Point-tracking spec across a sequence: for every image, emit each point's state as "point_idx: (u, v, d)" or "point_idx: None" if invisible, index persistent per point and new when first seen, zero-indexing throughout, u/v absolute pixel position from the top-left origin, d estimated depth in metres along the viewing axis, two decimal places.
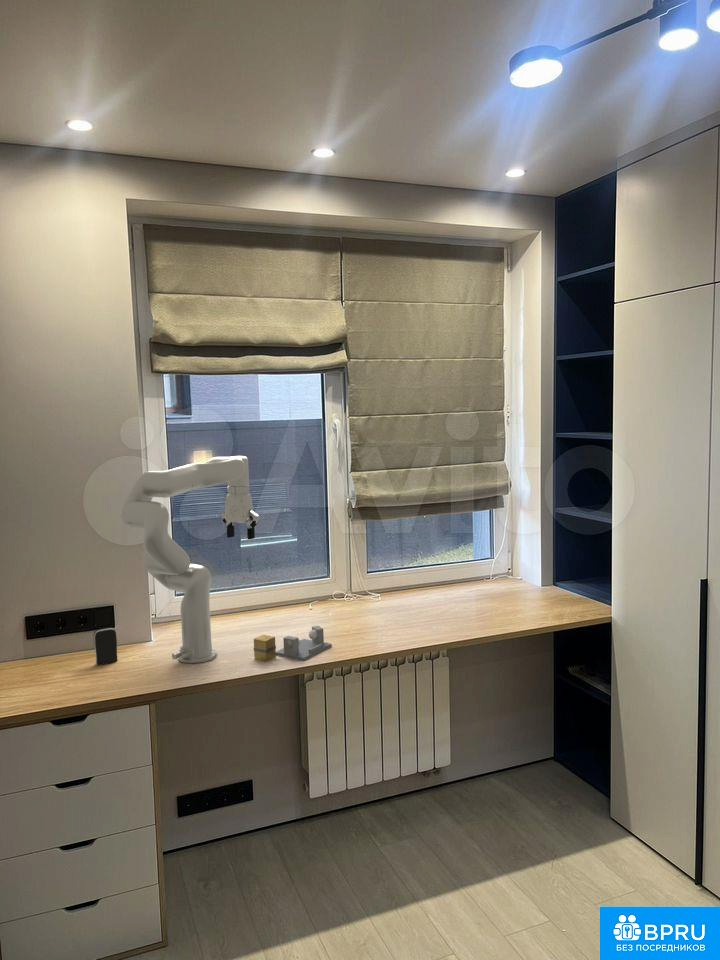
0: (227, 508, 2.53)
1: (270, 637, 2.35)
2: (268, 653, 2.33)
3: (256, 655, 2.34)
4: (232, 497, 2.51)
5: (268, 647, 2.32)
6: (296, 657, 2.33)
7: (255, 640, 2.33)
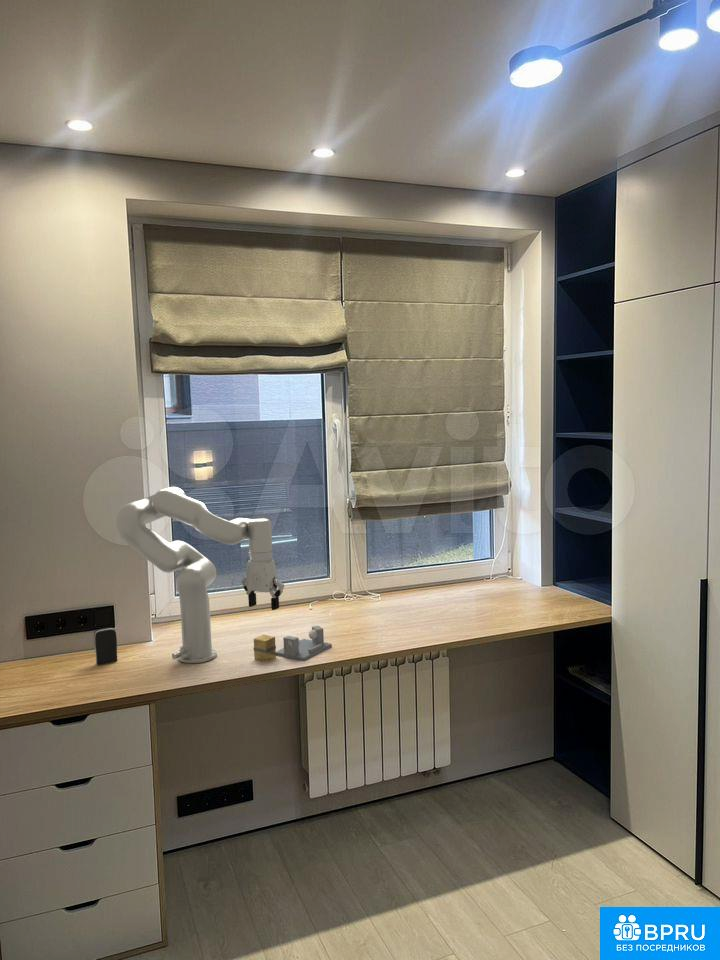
0: (249, 575, 2.32)
1: (270, 637, 2.35)
2: (268, 653, 2.33)
3: (256, 655, 2.34)
4: (254, 564, 2.30)
5: (268, 647, 2.32)
6: (296, 657, 2.33)
7: (255, 640, 2.33)
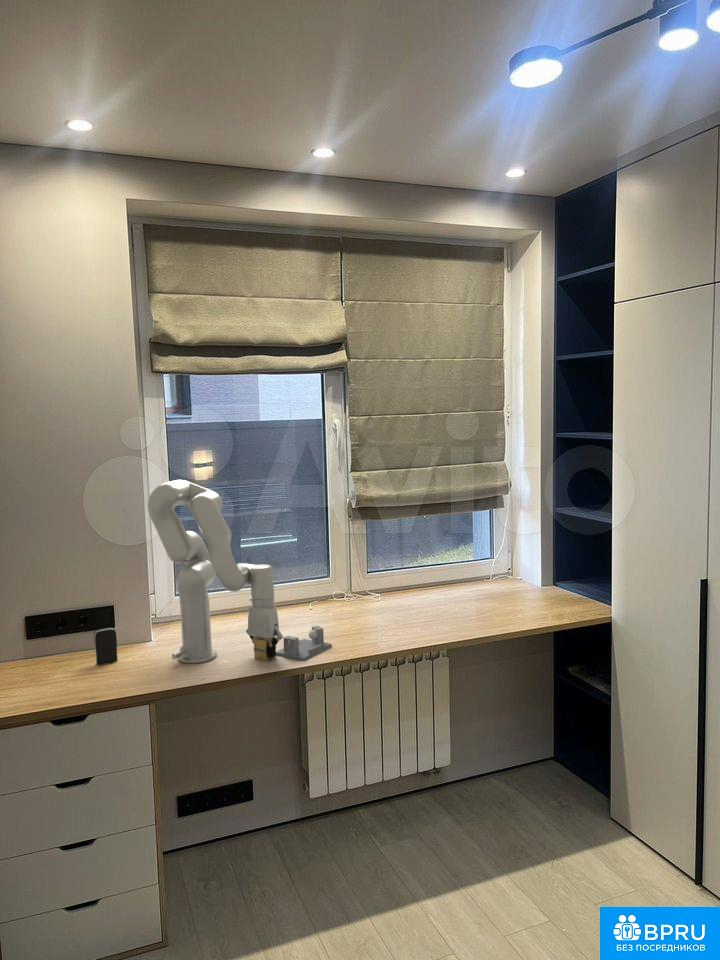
0: (250, 621, 2.33)
1: None
2: None
3: (256, 654, 2.34)
4: (256, 610, 2.32)
5: None
6: (296, 657, 2.33)
7: (255, 640, 2.33)
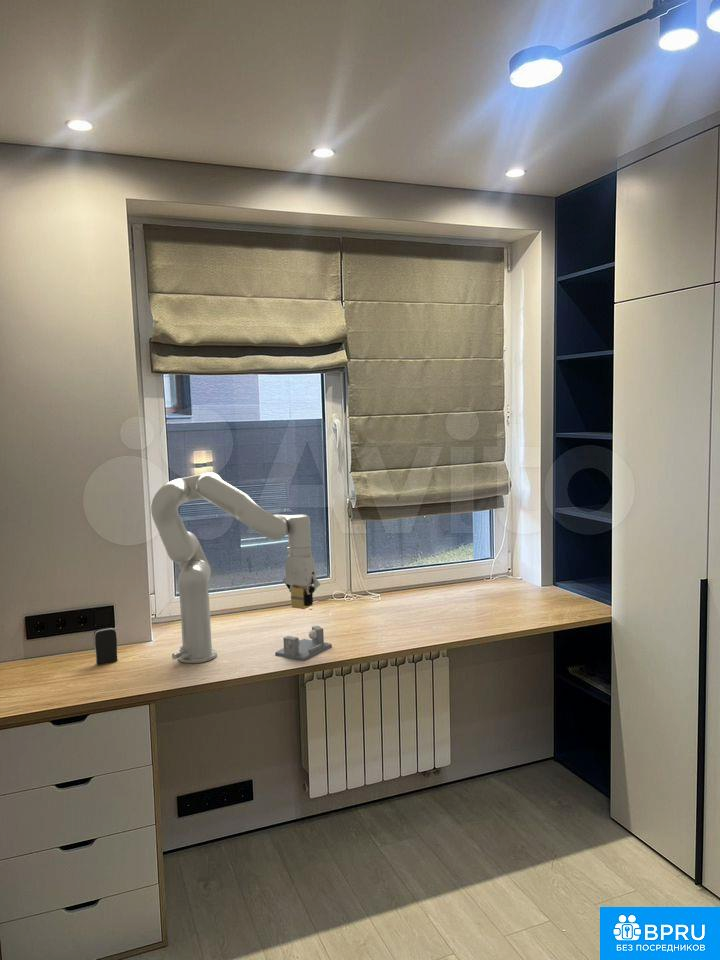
0: (288, 570, 2.38)
1: None
2: None
3: (293, 603, 2.39)
4: (293, 559, 2.37)
5: None
6: (296, 657, 2.33)
7: (292, 588, 2.38)
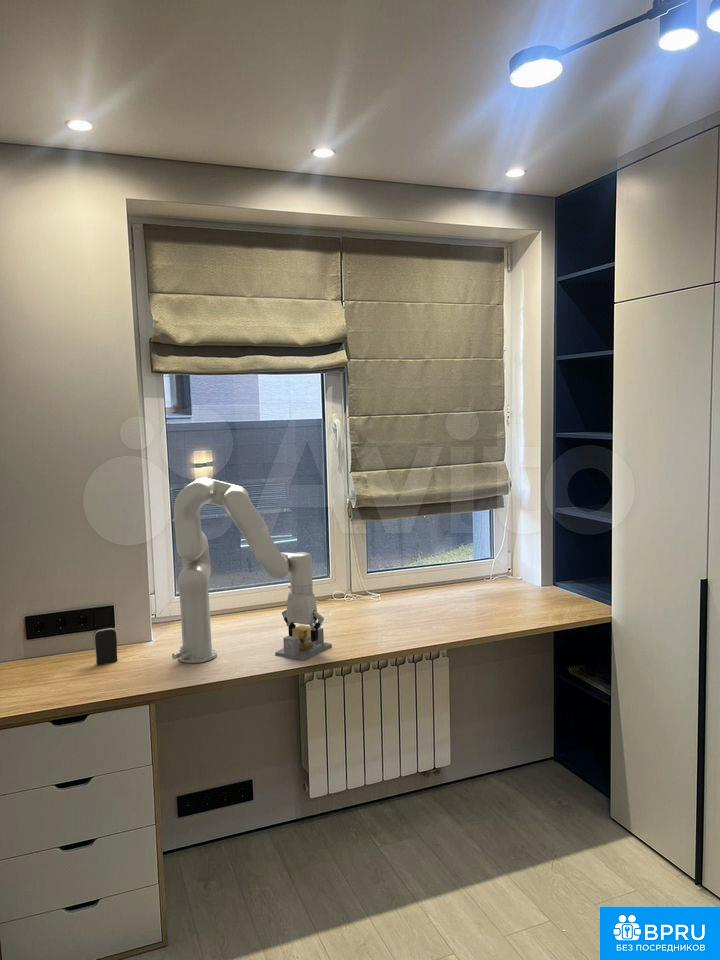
0: (289, 608, 2.40)
1: (308, 627, 2.41)
2: (307, 642, 2.39)
3: None
4: (295, 597, 2.38)
5: (306, 637, 2.39)
6: (296, 657, 2.33)
7: (294, 630, 2.39)
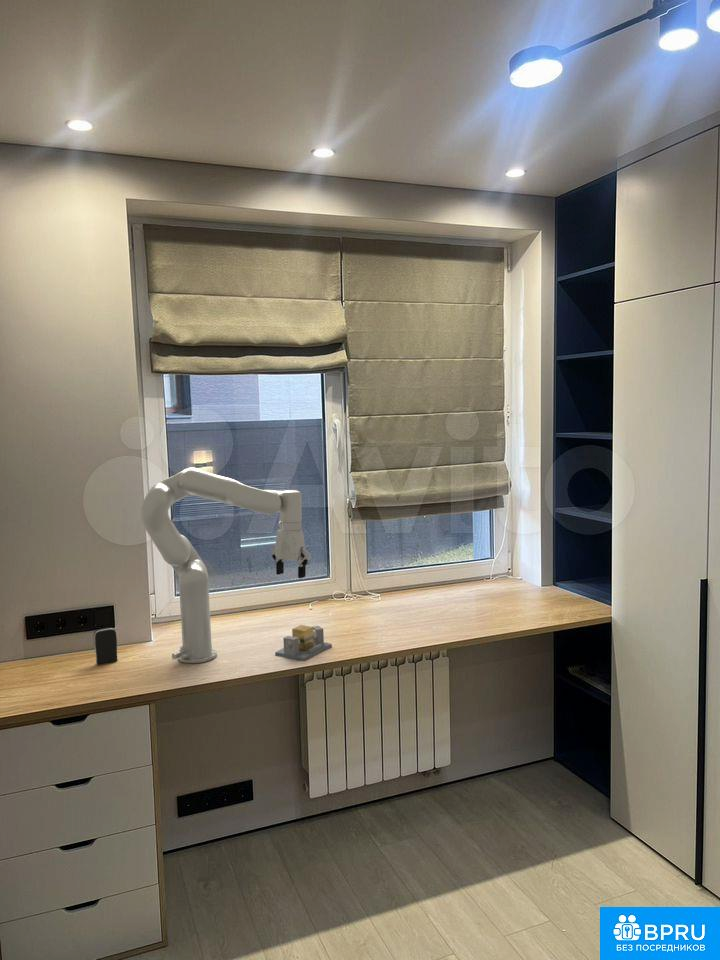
0: (278, 544, 2.42)
1: (308, 627, 2.41)
2: (307, 642, 2.39)
3: None
4: (284, 533, 2.40)
5: (306, 637, 2.39)
6: (296, 657, 2.33)
7: (294, 630, 2.39)
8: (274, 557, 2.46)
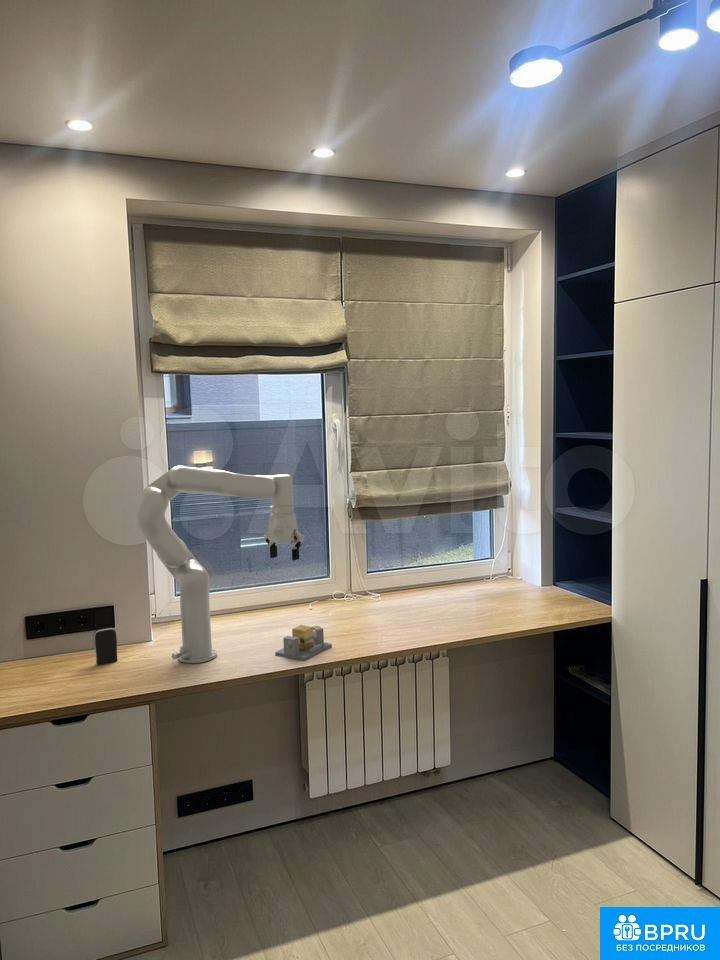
0: (271, 528, 2.46)
1: (308, 627, 2.41)
2: (307, 642, 2.39)
3: None
4: (276, 517, 2.44)
5: (306, 637, 2.39)
6: (296, 657, 2.33)
7: (294, 630, 2.39)
8: (267, 541, 2.50)
